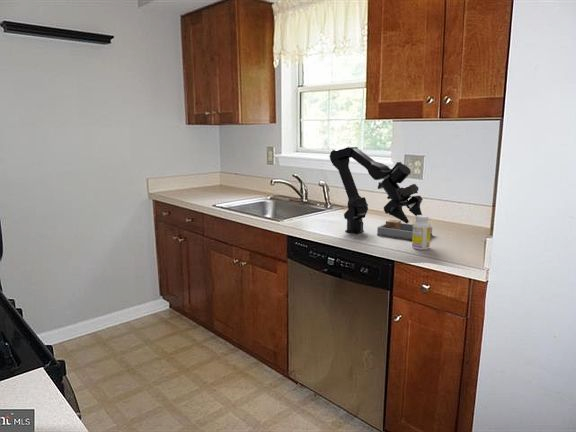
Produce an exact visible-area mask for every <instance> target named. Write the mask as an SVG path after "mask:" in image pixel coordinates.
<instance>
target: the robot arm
mask: <svg viewBox="0 0 576 432" xmlns="http://www.w3.org/2000/svg"><path fill="white" fill-rule="evenodd" d="M350 158H352V159H353V160H354V161H356V162H357V163H358V164H359V165H361V166H362V167H363V168H365V169H366V170H367V172H368V175H369V176H370V177H371V178H372V179H373V180H375V181H380V180H382V181H381V182H378V185H377V190H380V189H383V190H384V192H385V193H386V194H387V197H386V198H387V199H388V200H389V201H388V202H387V203H386V204H385V205H384V206H383V211H384V213H385V214H388V215H389V216H392V217H394V218H396V219H397V220H400V221H401V222H402V223H405V224H409V223H410V221H409V219H408V217H407V216H406V213H405V212H404V211H403V207H406V208H407V209H408V211H409V212H410V214H412V215H414V216H415V217H416V216H417V215H423V214H422V210H421V203H422V201H423V198H422V196H421V195H414V194H418V192H419V188H420V187H419V186H418V185H417V184H416V183H412V184H411V185H409V186H406V187H400V185H399V184H402V183H403V182H404V181H405V180H406V179H407V178H408V177H409V176H410V174H411V169H410V167H409V166H407V165H405V164H403V163H402V162H401V161H397V162H396V163H395V165H394V166H393V167H392V168H390V167H389V166H388V165H386V164H384V163H382V162H378V161H375V160H374V159H372V158H371V156H368V154H366V153H364V152H363V151H362V150H361V149H359V148H358V146H355V145H354V146H353V145H350V146H347V147H344V148H341V149H333V150H332V151H330V154H329V161H330V162H331V164H332V166H333V167H335V169H336V170H337V171H338V173H339V176H340V179H341V182H342V184H343V187H344V190H345V193H346V195H347V198H348V201H347V210H346V211H345V213H344V214H343V216H344V219H345V220H346V229H345V230H344V232H346V233H351V234H360V233H362V232H364V221H363V218H365V217H366V215H367V213H368V211H369V207H368V206H369V204H368V203H367V200H366V197H362V196H360V194H359V191H358V188H357V185H356V183H355V180H354V177H353V175H352V172H351V169H350V167H349V165H350ZM412 195H413V196H412Z"/></svg>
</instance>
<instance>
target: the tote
mask: <svg viewBox="0 0 576 432" xmlns="http://www.w3.org/2000/svg"><path fill="white" fill-rule="evenodd" d="M376 231H377V233H376V234H377V236H381V237H382V236H383V237H389V238H395V239H401V240H409V241H412V235H413V223H405V222H401V230H397V229H390V228H386V223H384V224H382V225H380V226H377V230H376ZM432 235H433V226H431V229H430V237H431V236H432Z"/></svg>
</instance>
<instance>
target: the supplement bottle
mask: <svg viewBox="0 0 576 432" xmlns="http://www.w3.org/2000/svg"><path fill="white" fill-rule="evenodd" d="M415 220H416V221H414V222H413V223H412V224H413V235H412V240H411V246H412V249H414V250H421V251H424V250H429V249H430V245H431V236H430V229H431V227H432V226H431V223H430V222H429V221H428V220H429V215H424V214H422V215H417V216H415Z"/></svg>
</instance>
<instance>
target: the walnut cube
mask: <svg viewBox="0 0 576 432" xmlns="http://www.w3.org/2000/svg"><path fill="white" fill-rule="evenodd" d="M401 223H402V221H401V220H400V219H392V218H391V219H388V220H386V221H385V224H386V228H390V229H397V230H401Z"/></svg>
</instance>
